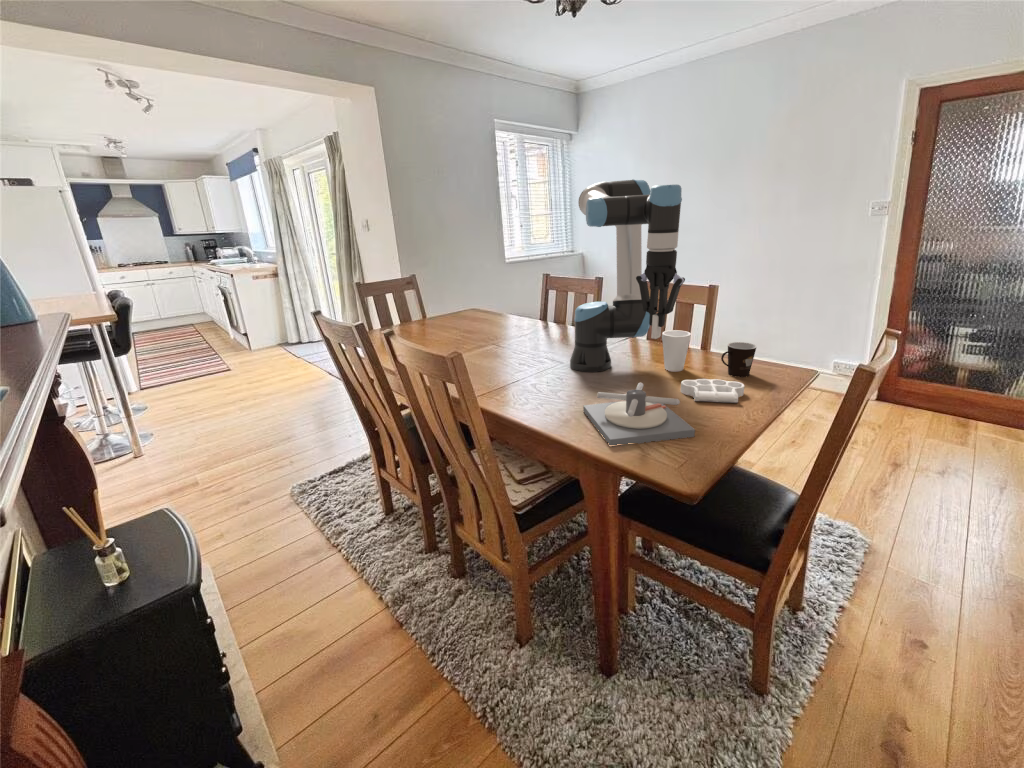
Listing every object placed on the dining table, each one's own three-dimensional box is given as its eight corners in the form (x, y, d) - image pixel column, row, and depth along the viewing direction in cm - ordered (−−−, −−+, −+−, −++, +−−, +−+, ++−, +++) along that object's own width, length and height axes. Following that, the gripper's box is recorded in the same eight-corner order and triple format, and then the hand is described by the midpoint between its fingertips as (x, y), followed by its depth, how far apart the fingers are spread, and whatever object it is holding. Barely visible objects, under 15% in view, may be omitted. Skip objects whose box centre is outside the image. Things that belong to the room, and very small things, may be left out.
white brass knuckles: (683, 403, 135) (678, 386, 148) (749, 406, 131) (738, 388, 144) (684, 392, 134) (679, 376, 147) (751, 395, 130) (740, 378, 143)
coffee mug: (746, 369, 158) (750, 341, 155) (756, 378, 150) (761, 348, 147) (711, 370, 160) (714, 342, 156) (720, 378, 152) (723, 349, 148)
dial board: (583, 411, 132) (583, 404, 131) (655, 403, 135) (655, 396, 134) (609, 446, 112) (610, 438, 111) (694, 436, 114) (695, 428, 113)
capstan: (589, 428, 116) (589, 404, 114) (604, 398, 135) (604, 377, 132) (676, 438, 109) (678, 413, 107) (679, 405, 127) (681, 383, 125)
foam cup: (693, 369, 162) (696, 333, 158) (676, 374, 157) (679, 338, 153) (670, 363, 169) (673, 328, 165) (654, 368, 165) (656, 333, 160)
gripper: (692, 248, 117) (684, 337, 125) (645, 247, 125) (640, 331, 134) (680, 251, 112) (672, 344, 120) (631, 250, 120) (628, 337, 129)
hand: (655, 337), depth 127 cm, fingers closed
